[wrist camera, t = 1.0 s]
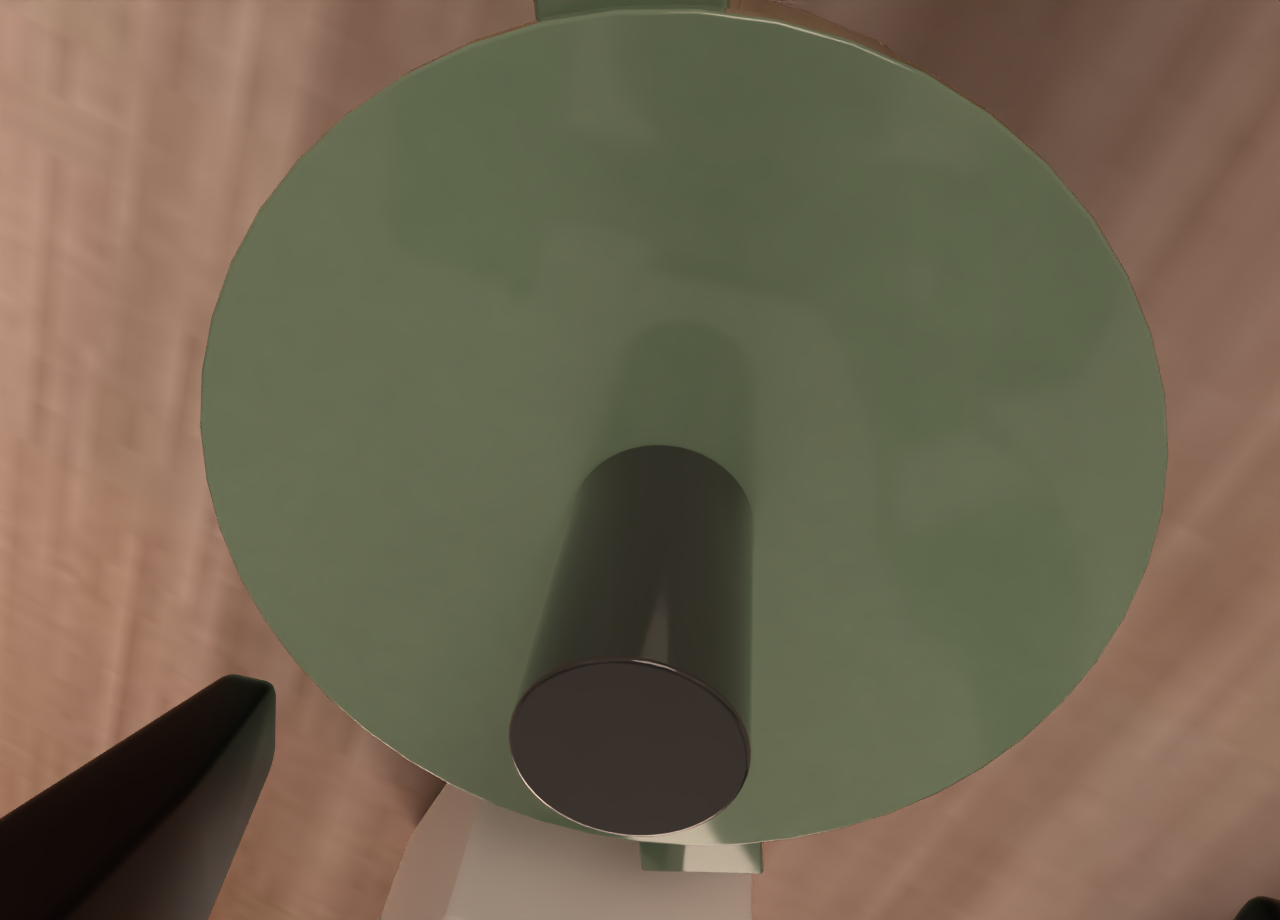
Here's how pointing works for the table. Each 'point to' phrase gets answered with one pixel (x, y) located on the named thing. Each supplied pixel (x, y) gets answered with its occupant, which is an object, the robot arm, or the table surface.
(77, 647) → the table surface
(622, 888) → the medicine bottle
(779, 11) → the cooking pot
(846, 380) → the lid
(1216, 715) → the table surface
